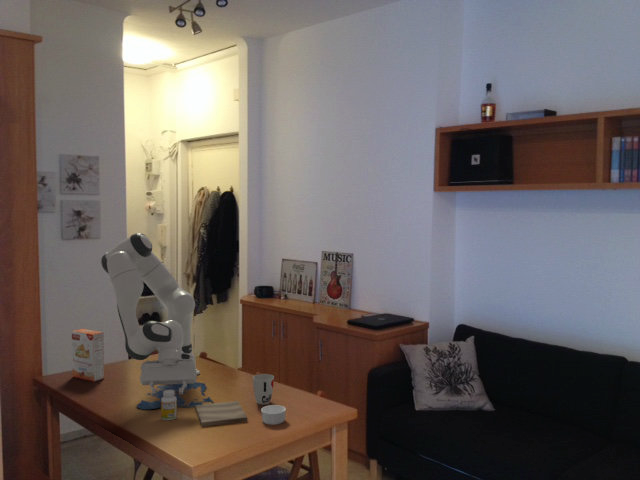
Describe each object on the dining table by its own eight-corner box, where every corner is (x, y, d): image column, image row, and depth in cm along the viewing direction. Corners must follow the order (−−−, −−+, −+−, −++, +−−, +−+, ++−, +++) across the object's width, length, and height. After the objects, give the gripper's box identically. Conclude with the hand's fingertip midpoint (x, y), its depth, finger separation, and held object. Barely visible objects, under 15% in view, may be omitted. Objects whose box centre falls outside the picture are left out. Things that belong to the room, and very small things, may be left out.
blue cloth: (204, 382, 251) (204, 381, 251) (211, 405, 224) (211, 403, 224) (138, 388, 244) (138, 386, 244) (137, 411, 216) (137, 409, 216)
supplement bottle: (166, 414, 213) (166, 388, 212) (179, 416, 211) (179, 389, 211) (158, 419, 208) (158, 392, 207) (171, 421, 206) (171, 394, 206)
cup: (262, 407, 221) (262, 381, 220) (248, 402, 226) (248, 377, 226) (278, 402, 227) (278, 376, 226) (264, 397, 232) (264, 372, 232)
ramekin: (277, 427, 201) (277, 415, 201) (256, 422, 206) (256, 410, 206) (290, 419, 209) (290, 407, 209) (270, 414, 214) (270, 403, 213)
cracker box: (71, 377, 257) (70, 330, 256) (83, 374, 263) (82, 328, 261) (93, 382, 250) (92, 334, 249) (104, 378, 256) (104, 331, 254)
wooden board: (195, 409, 218) (195, 405, 218) (237, 404, 224) (237, 401, 223) (201, 426, 201) (201, 422, 201) (247, 421, 206) (247, 417, 206)
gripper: (140, 356, 216) (136, 390, 207) (197, 355, 220) (195, 388, 210) (142, 365, 221) (138, 399, 212) (197, 363, 224) (196, 397, 215)
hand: (167, 394), depth 211 cm, fingers open, 8 cm apart
